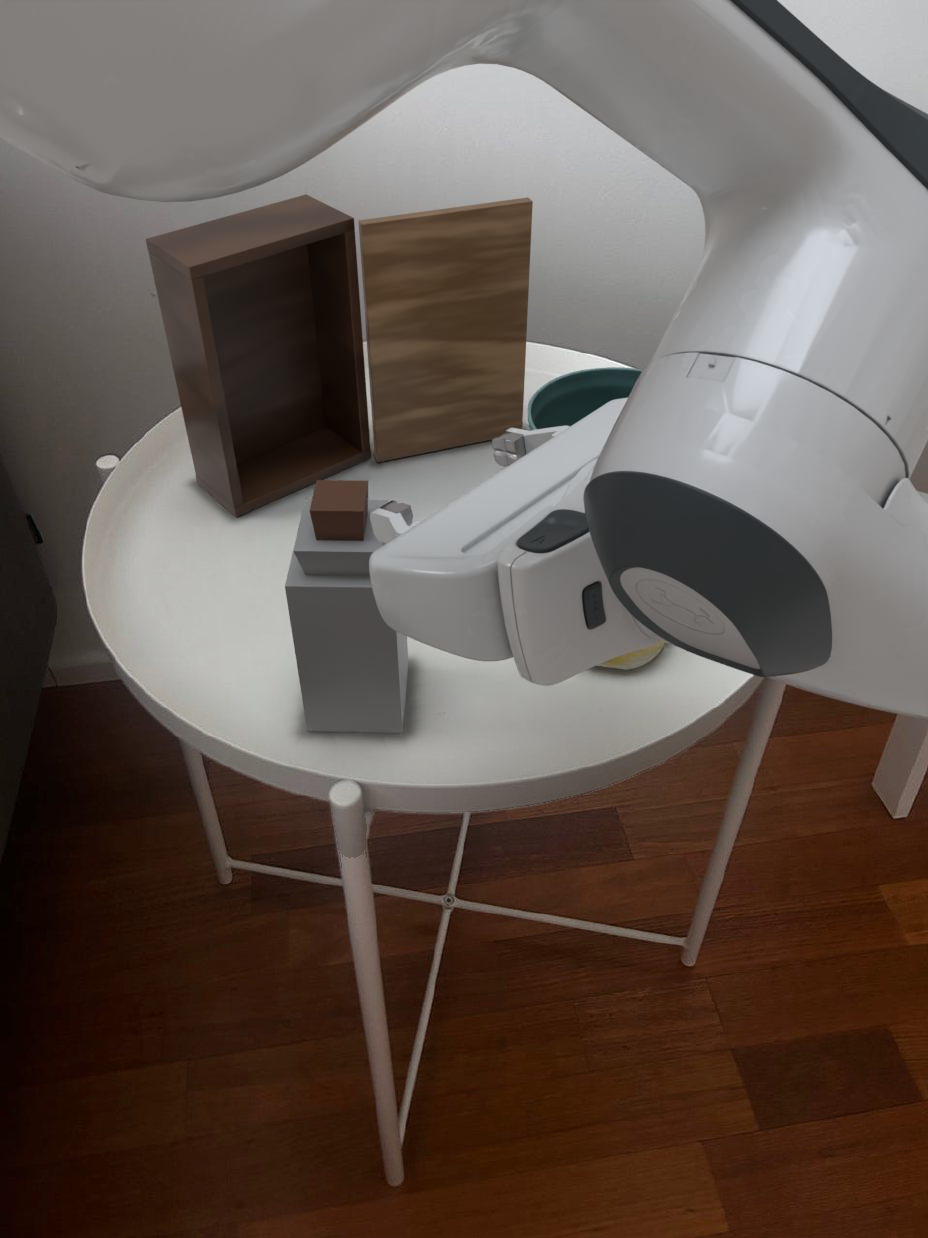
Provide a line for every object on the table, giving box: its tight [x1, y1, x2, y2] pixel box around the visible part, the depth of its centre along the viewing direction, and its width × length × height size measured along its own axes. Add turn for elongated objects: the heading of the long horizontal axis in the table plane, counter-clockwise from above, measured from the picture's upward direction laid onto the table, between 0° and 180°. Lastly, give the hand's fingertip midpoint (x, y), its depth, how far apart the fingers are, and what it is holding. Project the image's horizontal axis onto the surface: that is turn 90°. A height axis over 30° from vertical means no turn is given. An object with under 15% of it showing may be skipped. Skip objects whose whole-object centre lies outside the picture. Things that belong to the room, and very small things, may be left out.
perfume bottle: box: [284, 479, 409, 734], centre depth 68 cm, size 7×7×18 cm
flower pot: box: [526, 366, 644, 431], centre depth 86 cm, size 16×16×11 cm
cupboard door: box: [357, 197, 534, 463], centre depth 93 cm, size 6×15×23 cm, turn 110°
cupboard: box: [145, 194, 372, 518], centre depth 88 cm, size 7×15×23 cm, turn 130°
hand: (444, 480), depth 55 cm, fingers open, 8 cm apart
